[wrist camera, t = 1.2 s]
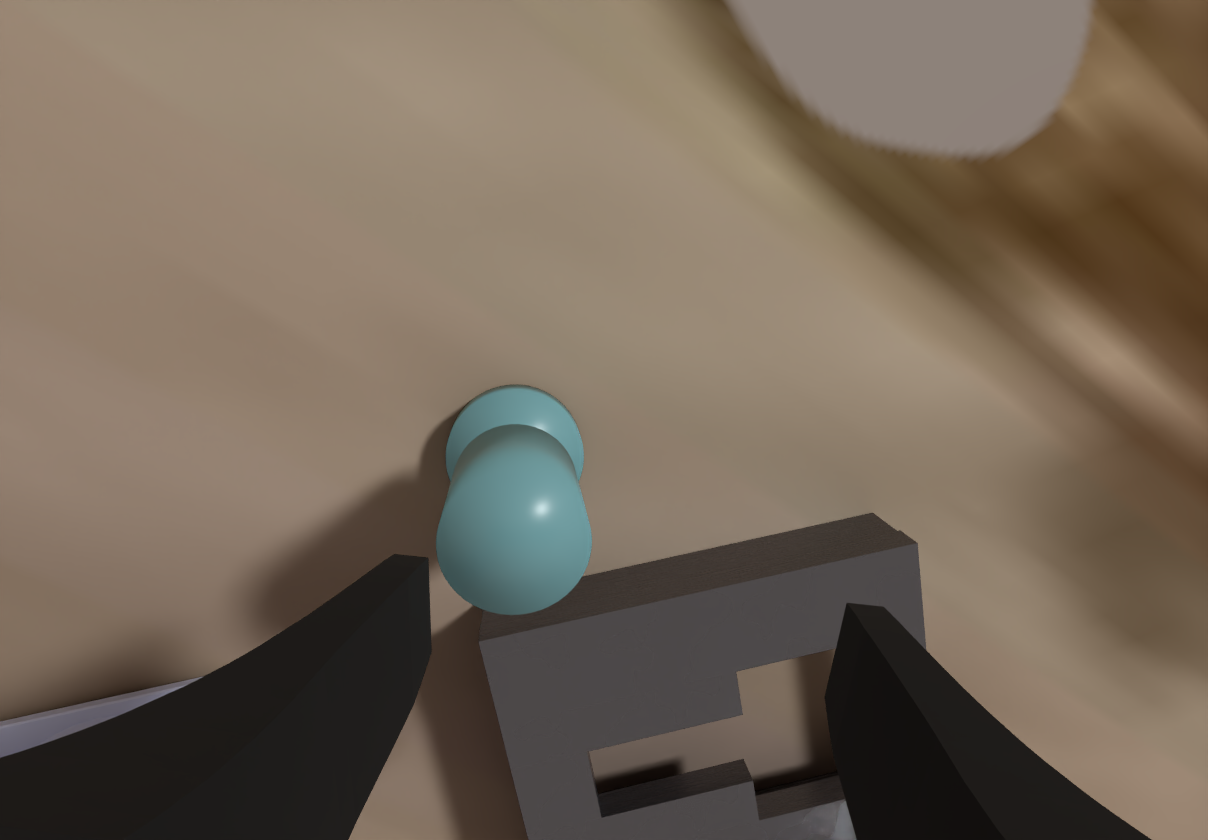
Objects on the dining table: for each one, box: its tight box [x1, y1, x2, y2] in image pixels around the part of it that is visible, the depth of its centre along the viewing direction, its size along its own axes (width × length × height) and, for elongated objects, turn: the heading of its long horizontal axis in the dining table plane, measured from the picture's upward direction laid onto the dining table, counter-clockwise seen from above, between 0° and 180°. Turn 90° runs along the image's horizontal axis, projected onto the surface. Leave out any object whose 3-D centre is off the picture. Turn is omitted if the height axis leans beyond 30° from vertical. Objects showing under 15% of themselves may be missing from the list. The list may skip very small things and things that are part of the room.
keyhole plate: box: [479, 513, 926, 840], centre depth 24 cm, size 13×11×3 cm
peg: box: [436, 385, 592, 615], centre depth 19 cm, size 4×4×7 cm
